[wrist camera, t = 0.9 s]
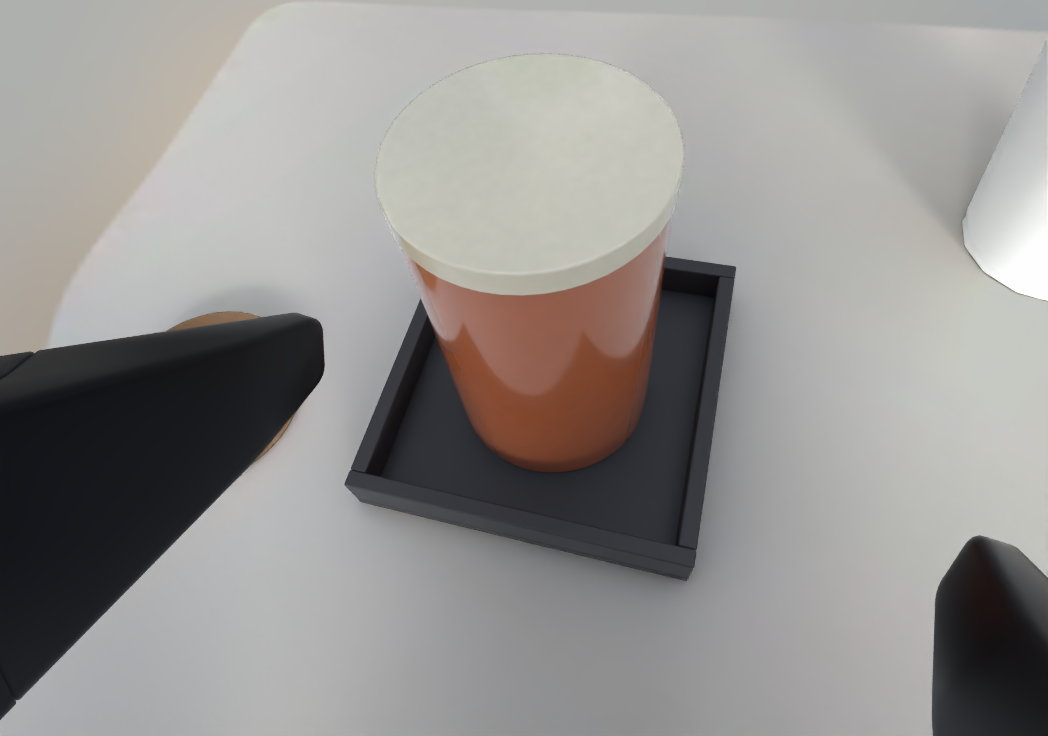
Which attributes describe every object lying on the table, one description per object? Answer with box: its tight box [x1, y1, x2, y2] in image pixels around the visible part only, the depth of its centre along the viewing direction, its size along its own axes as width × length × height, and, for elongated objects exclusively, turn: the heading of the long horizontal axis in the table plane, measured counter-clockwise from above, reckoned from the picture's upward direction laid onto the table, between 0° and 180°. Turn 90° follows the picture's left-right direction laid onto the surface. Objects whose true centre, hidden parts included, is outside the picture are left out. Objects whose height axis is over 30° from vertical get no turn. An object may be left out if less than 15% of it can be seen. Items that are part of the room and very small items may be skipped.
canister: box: [374, 53, 684, 473], centre depth 21 cm, size 7×7×12 cm
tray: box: [345, 257, 736, 581], centre depth 26 cm, size 12×12×2 cm
